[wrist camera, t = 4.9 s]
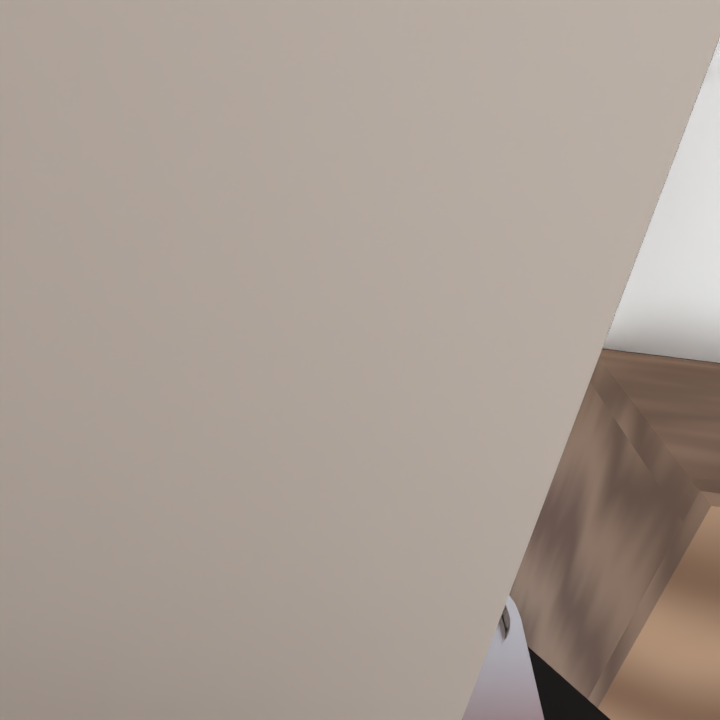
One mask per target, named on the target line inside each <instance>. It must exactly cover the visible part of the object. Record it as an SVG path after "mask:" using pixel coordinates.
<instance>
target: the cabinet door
mask: <svg viewBox="0 0 720 720" xmlns="http://www.w3.org/2000/svg"><path fill="white" fill-rule="evenodd" d="M719 38H720V0H0V720H462V718H463V715H464V713H465V710H466V707H467V705H468V702H469V699H470V697H471V694H472V692H473V689H474V686H475V684H476V681H477V678H478V676H479V673H480V670H481V668H482V665H483V662H484V660H485V657H486V655H487V652H488V649H489V647H490V644H491V641H492V639H493V636H494V633H495V631H496V628H497V625H498V623H499V620H500V618H501V615H502V612H503V610H504V607H505V604H506V602H507V599H508V596H509V594H510V591H511V588H512V586H513V583H514V580H515V578H516V575H517V573H518V570H519V567H520V565H521V562H522V559H523V557H524V554H525V551H526V549H527V546H528V543H529V541H530V538H531V535H532V533H533V530H534V528H535V525H536V522H537V520H538V517H539V514H540V512H541V509H542V506H543V504H544V501H545V498H546V496H547V493H548V491H549V488H550V485H551V483H552V480H553V477H554V475H555V472H556V469H557V467H558V464H559V461H560V459H561V456H562V454H563V451H564V448H565V446H566V443H567V440H568V438H569V435H570V432H571V430H572V427H573V424H574V422H575V419H576V416H577V414H578V411H579V409H580V406H581V403H582V401H583V398H584V395H585V393H586V390H587V387H588V385H589V382H590V379H591V377H592V374H593V372H594V369H595V366H596V364H597V361H598V358H599V356H600V353H601V350H602V348H603V345H604V342H605V340H606V337H607V334H608V332H609V329H610V327H611V324H612V321H613V319H614V316H615V313H616V311H617V308H618V305H619V303H620V300H621V297H622V295H623V292H624V290H625V287H626V284H627V282H628V279H629V276H630V274H631V271H632V268H633V266H634V263H635V260H636V258H637V255H638V253H639V250H640V247H641V245H642V242H643V239H644V237H645V234H646V231H647V229H648V226H649V223H650V221H651V218H652V215H653V213H654V210H655V208H656V205H657V202H658V200H659V197H660V194H661V192H662V189H663V186H664V184H665V181H666V178H667V176H668V173H669V170H670V168H671V165H672V163H673V160H674V157H675V155H676V152H677V149H678V147H679V144H680V141H681V139H682V136H683V133H684V131H685V128H686V126H687V123H688V120H689V118H690V115H691V112H692V110H693V107H694V104H695V102H696V99H697V96H698V94H699V91H700V89H701V86H702V83H703V81H704V78H705V75H706V73H707V70H708V67H709V65H710V62H711V59H712V57H713V54H714V51H715V49H716V46H717V44H718V41H719Z"/></svg>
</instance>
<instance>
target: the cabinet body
mask: <svg viewBox="0 0 720 720" xmlns="http://www.w3.org/2000/svg"><path fill="white" fill-rule="evenodd" d="M509 596H510V597H511V598H512V600H513V601H514V602H515V604H516V607H517V609H518V612H519V615H520V617H521V621H522V625H523V630H524V634H525V638H526V643H527V646H528V647H529V648H530V649H532V650H533V651H534V652H535V653H536V654H537V655H538V656H539V657H541V658H542V659H543V660H544V661H545V662H546V663H547V664H548V665H550V666H551V667H552V668H553V669H554V670H555V671H556V672H557V673H559V674H560V675H561V676H562V677H563V678H564V679H565V680H566V681H568V682H569V683H570V684H571V685H572V686H573V687H574V688H575V689H577V690H578V691H579V692H580V693H581V694H582V695H583V696H585V697H586V698H587V699H588V700H589V701H590V702H591V703H592V704H594V705H595V706H596V707H597V708H598V709H599V710H600V711H601V712H603V713H604V714H605V715H606V716H607V717H608V718H609V719H610V720H720V363H713V362H705V361H697V360H688V359H680V358H672V357H664V356H656V355H648V354H640V353H631V352H623V351H615V350H607V349H602V350H601V353H600V356H599V358H598V361H597V364H596V366H595V369H594V372H593V374H592V377H591V379H590V382H589V385H588V387H587V390H586V393H585V395H584V398H583V401H582V403H581V406H580V409H579V411H578V414H577V416H576V419H575V422H574V424H573V427H572V430H571V432H570V435H569V438H568V440H567V443H566V446H565V448H564V451H563V454H562V456H561V459H560V461H559V464H558V467H557V469H556V472H555V475H554V477H553V480H552V483H551V485H550V488H549V491H548V493H547V496H546V498H545V501H544V504H543V506H542V509H541V512H540V514H539V517H538V520H537V522H536V525H535V528H534V530H533V533H532V535H531V538H530V541H529V543H528V546H527V549H526V551H525V554H524V557H523V559H522V562H521V565H520V567H519V570H518V573H517V575H516V578H515V580H514V583H513V586H512V588H511V591H510V594H509Z"/></svg>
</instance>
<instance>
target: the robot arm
mask: <svg viewBox="0 0 720 720" xmlns="http://www.w3.org/2000/svg"><path fill="white" fill-rule="evenodd" d="M462 720H610V719H609V718H608V717H607V716H606V715H605V714H604V713H603V712H601V711H600V710H599V709H598V708H597V707H596V706H595V705H594V704H592V703H591V702H590V701H589V700H588V699H587V698H586V697H585V696H583V695H582V694H581V693H580V692H579V691H578V690H577V689H575V688H574V687H573V686H572V685H571V684H570V683H569V682H568V681H566V680H565V679H564V678H563V677H562V676H561V675H560V674H559V673H557V672H556V671H555V670H554V669H553V668H552V667H551V666H550V665H548V664H547V663H546V662H545V661H544V660H543V659H542V658H541V657H539V656H538V655H537V654H536V653H535V652H534V651H533V650H532V649H530V648H529V647H528V646H527V643H526V638H525V634H524V630H523V625H522V621H521V617H520V615H519V612H518V609H517V607H516V604H515V602H514V601H513V600H512V598H511V597H510V596H508V599H507V602H506V604H505V607H504V610H503V612H502V615H501V618H500V620H499V623H498V625H497V628H496V631H495V633H494V636H493V639H492V641H491V644H490V647H489V649H488V652H487V655H486V657H485V660H484V662H483V665H482V668H481V670H480V673H479V676H478V678H477V681H476V684H475V686H474V689H473V692H472V694H471V697H470V699H469V702H468V705H467V707H466V710H465V713H464V715H463V718H462Z"/></svg>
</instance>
